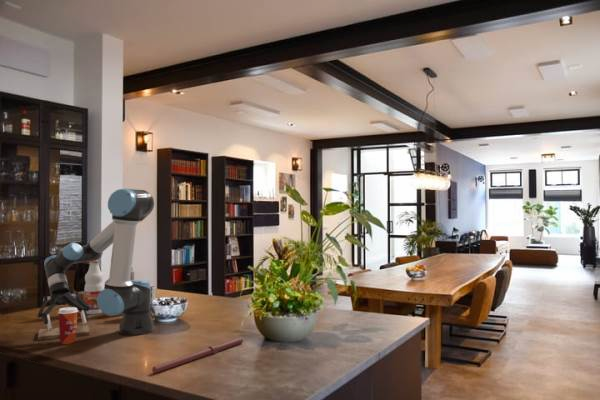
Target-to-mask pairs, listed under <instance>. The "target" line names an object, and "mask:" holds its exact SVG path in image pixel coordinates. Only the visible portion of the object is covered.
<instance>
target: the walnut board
mask: <svg viewBox="0 0 600 400" xmlns="http://www.w3.org/2000/svg"><path fill="white" fill-rule="evenodd" d="M83 336H84V337H85V336H90V327H89V325H88V324H86V326H83V324H82V325H76V337H83ZM56 339H60V329H59V327H52V328H51V331H49V332H48V328H40V329H38V336H37V341H46V340H56Z"/></svg>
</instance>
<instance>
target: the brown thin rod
mask: <svg viewBox="0 0 600 400" xmlns="http://www.w3.org/2000/svg"><path fill="white" fill-rule="evenodd" d="M243 341H244V339H243V338H242V337H238V338H235V339H233V340H229V341H227V342H223V343H220V344H217V345H211V346H209V347H208V348H206V349H203V350H200V351H197V352H193V353H191V354H188V355H184V356H181V357H179V358H176V359H173V360H169V361H166V362H164V363H161V364H159V365H158V364H157V365H155V366H153V367H152V369H151V370H152V373H153V374H157V373H161V372H163V371H166V370H169V369H172V368H175V367H178V366H180V365H184V364H186V363H189V362H192V361H195V360H197V359H200V358H204V357H205V356H206V357H207V356H209V355H215V354H218V352H220V351H224V350H227V349H229V348H232V347H234V346H237V345H240V344H243Z"/></svg>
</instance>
